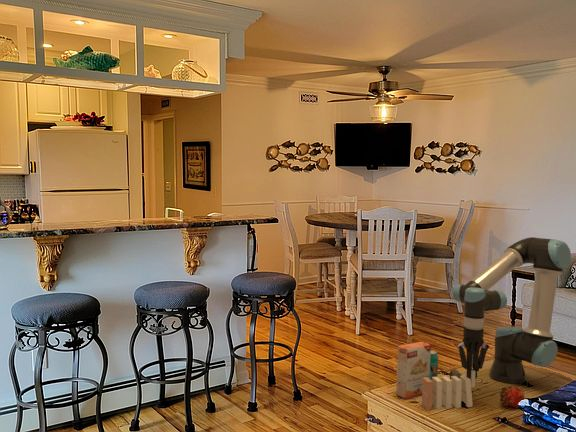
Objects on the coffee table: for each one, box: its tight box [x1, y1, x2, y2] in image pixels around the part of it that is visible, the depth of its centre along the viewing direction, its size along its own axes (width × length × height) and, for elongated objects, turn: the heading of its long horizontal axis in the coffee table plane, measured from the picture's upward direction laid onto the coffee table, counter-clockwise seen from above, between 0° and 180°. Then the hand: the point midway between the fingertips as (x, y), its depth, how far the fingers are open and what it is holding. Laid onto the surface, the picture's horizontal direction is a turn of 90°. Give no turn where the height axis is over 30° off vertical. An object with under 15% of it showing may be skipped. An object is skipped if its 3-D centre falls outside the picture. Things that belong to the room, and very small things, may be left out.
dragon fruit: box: [499, 386, 525, 409], centre depth 216 cm, size 8×8×12 cm
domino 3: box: [441, 375, 452, 409], centre depth 216 cm, size 2×5×11 cm, turn 9°
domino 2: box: [432, 376, 443, 410], centre depth 215 cm, size 2×5×11 cm, turn 9°
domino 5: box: [460, 374, 473, 408], centre depth 217 cm, size 2×5×11 cm, turn 9°
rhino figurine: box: [449, 368, 463, 380], centre depth 238 cm, size 4×14×6 cm, turn 8°
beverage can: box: [430, 349, 439, 381], centre depth 237 cm, size 6×6×15 cm
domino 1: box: [421, 377, 433, 411], centre depth 214 cm, size 2×5×11 cm, turn 8°
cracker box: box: [395, 341, 432, 400], centre depth 227 cm, size 14×6×21 cm, turn 123°
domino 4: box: [451, 376, 462, 409], centre depth 216 cm, size 2×5×11 cm, turn 8°
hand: (471, 385), depth 217 cm, fingers closed
